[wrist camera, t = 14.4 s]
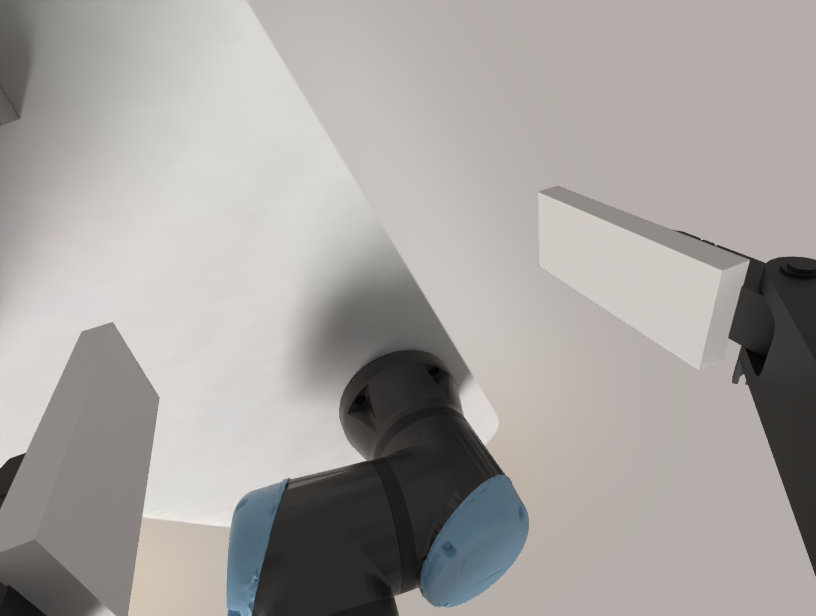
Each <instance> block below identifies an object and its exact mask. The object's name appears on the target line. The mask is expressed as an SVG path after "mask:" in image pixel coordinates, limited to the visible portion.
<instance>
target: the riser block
mask: <svg viewBox="0 0 816 616" xmlns="http://www.w3.org/2000/svg"><path fill="white" fill-rule="evenodd" d="M17 119H20V118H19V116H18V115H17V113H16V111H15V110H14V108H13V106H12V104H11V103H10V101H9V99H8V97H7V96H6V94H5V92H4V91H3V89H2V87H1V85H0V125H2V124H5V123H8V122H11V121H14V120H17Z"/></svg>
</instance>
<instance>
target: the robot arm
mask: <svg viewBox="0 0 816 616" xmlns="http://www.w3.org/2000/svg"><path fill="white" fill-rule="evenodd" d="M538 251H539V254H538V255H539V266H540V267H541V268H543V269H544V270H546V271H547V272H549V273H550V274H552V275H553V276H555V277H557V278H558V279H560V280H561V281H563V282H564V283H566V284H567V285H569V286H571V287H572V288H574V289H575V290H577V291H578V292H580V293H581V294H583V295H584V296H586V297H587V298H589V299H590V300H592V301H593V302H595V303H597V304H598V305H600V306H601V307H603V308H604V309H606V310H607V311H609V312H610V313H612V314H614V315H615V316H616V317H618V318H620V319H621V320H623V321H624V322H626V323H627V324H629V325H630V326H632V327H633V328H635V329H636V330H638V331H640V332H641V333H643V334H644V335H646V336H647V337H649V338H650V339H652V340H653V341H655V342H657V343H658V344H660V345H661V346H663V347H664V348H666V349H667V350H669V351H670V352H672V353H674V354H675V355H676V356H678V357H680V358H681V359H683V360H684V361H686V362H687V363H689V364H690V365H692V366H693V367H695V368H697V369H698V370H701V369H703V368H705V367H707V366H710V365H712V364H714V363H716V362H719V361H721V360H723V359H724V355H725V351H726V347H727V344H728V340H729V339H731V340H733V341H735V342H737V343H738V344H740V345H742V346H741V349H740V353H739V356H738V360H737V363H736V367H735V371H734V374H733V378H732V383H735V384H738V381H739V378H740V376H741V375H743V374H745V377H746V385H748V386H749V389H750V391H751V394H752V397H753V400H754V403H755V406H756V408H757V411H758V414H759V417H760V420H761V423H762V425H763V428H764V431H765V434H766V437H767V439H768V442H769V445H770V448H771V451H772V454H773V457H774V459H775V462H776V465H777V468H778V471H779V474H780V476H781V479H782V482H783V485H784V488H785V491H786V493H787V496H788V499H789V502H790V505H791V508H792V510H793V513H794V516H795V519H796V521H797V525H798V527H799V530H800V533H801V536H802V539H803V542H804V544H805V547H806V550H807V553H808V556H809V559H810V561H811V564H812V567H813V570H814V573H815V576H816V260H814V259H810V258H804V257H779V258H776V259H772V260H770V261H768V262H767V263H764V262H761V261H758V260H756V259H753V258H751V257H748V256H745V255H743V254H740V253H737V252H735V251H732V250H730V249H727V248H724V247H722V246H719V245H717V246H715V244H714V243H711V242H709V241H706V240H701V239H700V238H698V237H696V236H693V235H690V234H688V233H685V232H681V231H676V230H671V229H668V228H666V227H663V226H661V225H658V224H655V223H653V222H650V221H648V220H645V219H642V218H639V217H637V216H635V215H632V214H629V213H627V212H624V211H622V210H619V209H616V208H614V207H611V206H608V205H606V204H603V203H601V202H598V201H596V200H593V199H590V198H588V197H585V196H583V195H580V194H577V193H575V192H572V191H570V190H567V189H565V188H562V187H559V186H556V187H553V188H550V189H546V190H543V191H540V192H538ZM158 404H159V396H158V395H157V393H156V391H155V390H154V388H153V386H152V385H151V383H150V382H149V380H148V378H147V377H146V375H145V373H144V372H143V370H142V369H141V367H140V365H139V364H138V362H137V361H136V359H135V357H134V356H133V354H132V352H131V351H130V349H129V348H128V346H127V344H126V343H125V341H124V339H123V338H122V336H121V335H120V333H119V331H118V330H117V328H116V327H115V325H114V323H113V322H112V323H108V324H105V325H102V326H99V327H95V328H92V329H89V330H86V331H82V332H81V334H80V336H79V339H78V341H77V343H76V345H75V347H74V350H73V352H72V354H71V356H70V358H69V360H68V363H67V365H66V367H65V369H64V371H63V374H62V376H61V378H60V380H59V382H58V384H57V387H56V389H55V391H54V393H53V395H52V398H51V400H50V402H49V404H48V406H47V408H46V411H45V413H44V415H43V417H42V419H41V422H40V424H39V426H38V428H37V430H36V432H35V435H34V437H33V439H32V441H31V443H30V445H29V448H28V450H27V452H26V453H24V454H22V455H19V456H16V457H13V458H10V459H9V460H8V461H7V462H6V463H5V464H4V465H3V466H2V467H1V469H0V616H128V609H129V602H130V596H131V589H132V582H133V575H134V568H135V561H136V555H137V547H138V541H139V534H140V527H141V519H142V514H143V507H144V500H145V493H146V486H147V479H148V472H149V466H150V459H151V452H152V445H153V438H154V431H155V425H156V418H157V411H158ZM339 416H340V421H341V424H342V427H343V430H344V433H345V435H346V437H347V439H348V441H349V442H350V444H351V445H352V446H353V447H354V448H355V449H356V450H357V451H358V452H359V453H360V454H361V455H362V456H363V457H364V458H365V459H366V460H367V461H365V462H361V463H357V464H353V465H349V466H345V467H341V468H337V469H333V470H329V471H325V472H321V473H317V474H313V475H308V476H304V477H300V478H295V479H290V478H288V479H284V480H283V481H282V482H280V483H277V484H274V485H270V486H267V487H264V488H261V489H257V490H254V491H251V492H249V493H248V494H246V495H245V496H244V497H243V498H242V499H241V500H240V501H239V503H238V504H237V506H236V508H235V511H234V514H233V518H232V523H231V530H230V538H229V550H228V568H227V607H228V616H399V614H398V611H397V607H396V603H395V599H394V596H396V595H399V594H402V593H405V592H407V591H410V590H413V589H416V588H419V589H420V591H421V593H422V596H423V597H424V598H426V599H427V601H428V602H429V603H430V604H432V605H433V606H436V607H442V606H444V607H453V606H457V605H460V604H462V603H465V602H467V601H468V600H471V599H472V598H474V597H476V596H477V595H479V594H481V593H482V592H484V591H485V590H486V589H488V588H489V587H490V586H491V585H493V584H494V583H495V582H496V581H497V580H498V579H499V578H500V577H501V576H502V575H503V574H504V573H505V572H506V571H507V570H508V568H510V567H511V565H512V564H513V563H514V561H515V560H516V559H517V557H518V555H519V554H520V552H521V550H522V548H523V546H524V544H525V541H526V539H527V535H528V530H529V517H528V513H527V510H526V508H525V506H524V504H523V502H522V501H521V499H520V497H519V496H518V494H517V492H516V490H515V489H514V487H513V485H512V482H511V480H510V478H509V477H507V476H506V475H505V474H504V473H503V471H502V470H501V468H500V467H499V466H498V464H497V463H496V461H495V460H494V459H493V457H492V456H491V454H490V453H489V452H488V450H487V449H486V447H485V446H484V444H483V443H482V442H481V440H480V439H479V437H478V436H477V435H476V433H475V432H474V430H473V429H472V427H471V426H470V425H469V423H468V422H467V420H466V419H465V418H464V415H463V411H462V406H461V402H460V397H459V392H458V388H457V384H456V382H455V380H454V378H453V376H452V374H451V373H450V371H449V370H448V369H447V367H446V366H445V365H444V364H443V363H442V362H441V361H440V360H439V359H438V358H436V357H435V356H433V355H431V354H428V353H425V352H421V351H400V352H395V353H391V354H388V355H385V356H383V357H381V358H379V359H377V360H375V361H373V362H371V363H370V364H368V365H367V366H366V367H364V368H363V369H362V370H361V371H360V372H358V373H357V375H356V376H355V377H354V378H353V379H352V380H351V382H350V383H349V384H348V386H347V388H346V389H345V391H344V393H343V396H342V398H341V402H340V408H339Z"/></svg>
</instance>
